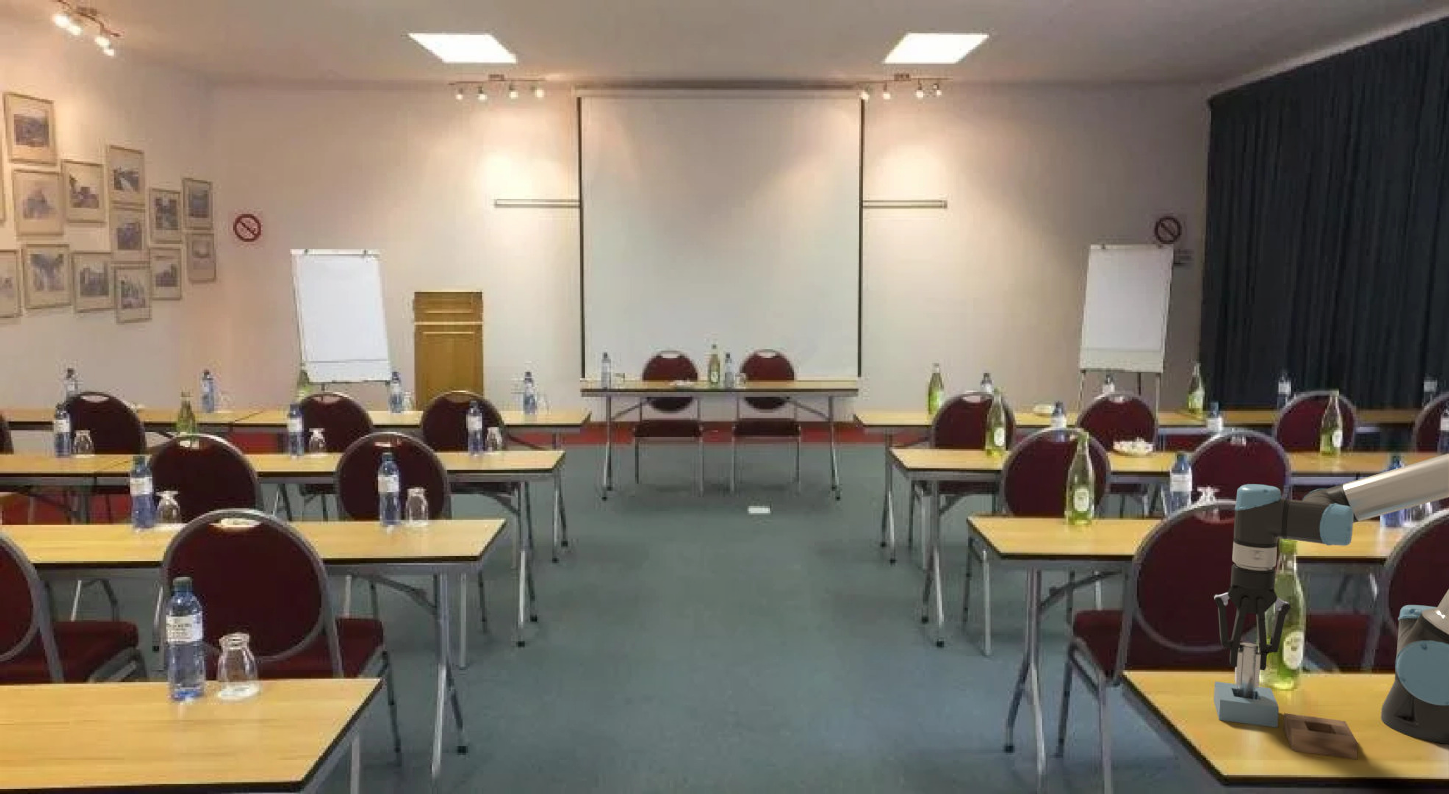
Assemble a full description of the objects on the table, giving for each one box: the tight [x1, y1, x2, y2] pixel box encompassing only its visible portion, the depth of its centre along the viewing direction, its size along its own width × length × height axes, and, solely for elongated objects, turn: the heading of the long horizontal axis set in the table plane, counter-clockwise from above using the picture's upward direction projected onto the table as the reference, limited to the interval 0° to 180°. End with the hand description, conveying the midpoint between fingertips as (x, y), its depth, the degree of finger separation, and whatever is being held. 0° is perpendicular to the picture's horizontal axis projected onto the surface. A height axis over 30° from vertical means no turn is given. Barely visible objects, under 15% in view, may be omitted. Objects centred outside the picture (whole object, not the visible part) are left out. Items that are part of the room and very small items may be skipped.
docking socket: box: [1213, 681, 1280, 728], centre depth 201 cm, size 10×10×4 cm
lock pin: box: [1236, 642, 1259, 699], centre depth 200 cm, size 3×3×12 cm
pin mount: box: [1283, 712, 1359, 760], centre depth 188 cm, size 10×10×3 cm
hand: (1246, 683), depth 201 cm, fingers closed on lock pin, 2 cm apart
